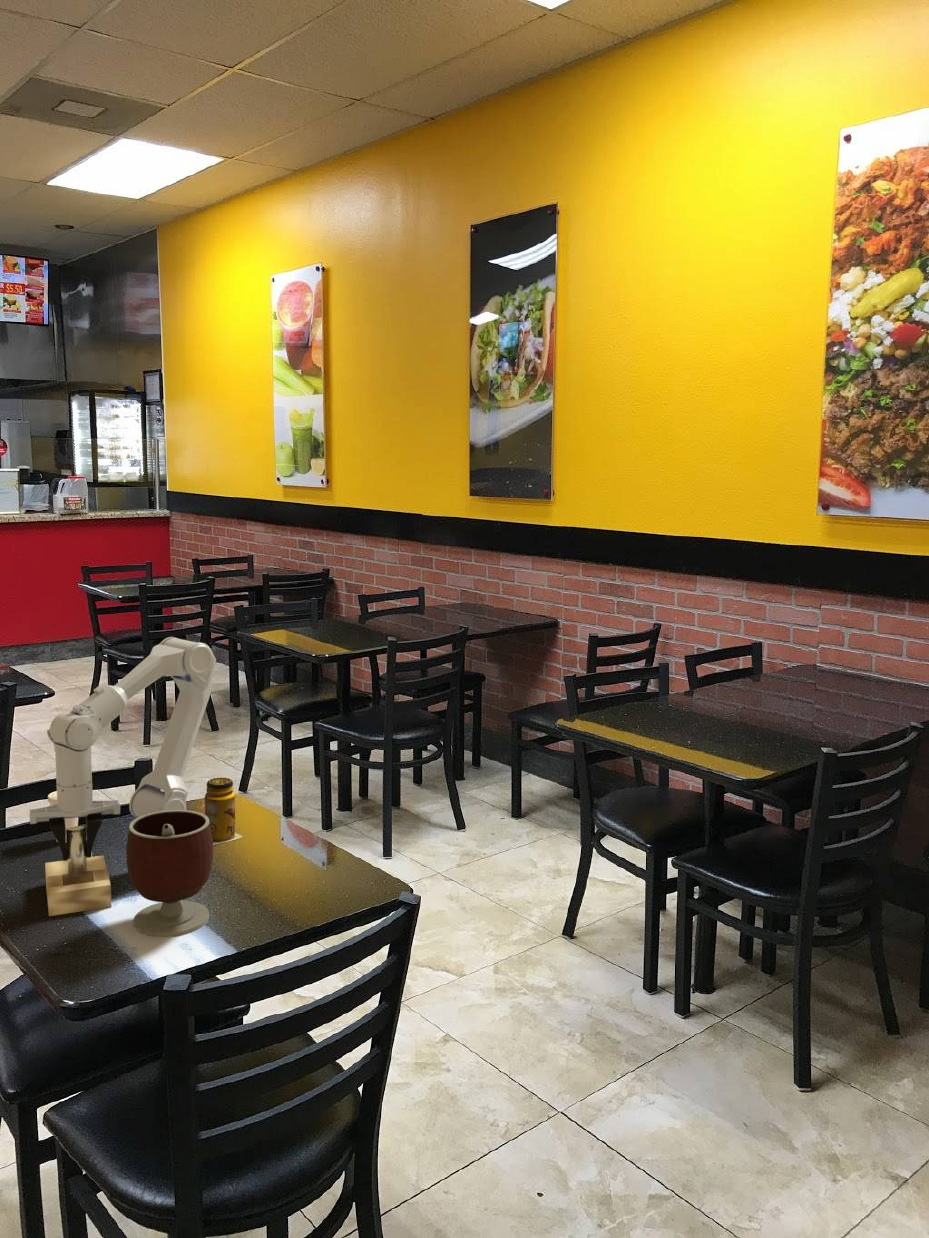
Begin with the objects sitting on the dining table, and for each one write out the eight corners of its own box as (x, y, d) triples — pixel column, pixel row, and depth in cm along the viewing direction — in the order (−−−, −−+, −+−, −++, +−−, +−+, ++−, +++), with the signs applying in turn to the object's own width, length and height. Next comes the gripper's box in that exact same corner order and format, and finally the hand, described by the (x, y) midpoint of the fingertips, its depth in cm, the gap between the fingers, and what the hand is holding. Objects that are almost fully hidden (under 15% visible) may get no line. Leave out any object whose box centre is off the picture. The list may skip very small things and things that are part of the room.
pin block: (104, 875, 186) (103, 855, 185) (111, 906, 173) (110, 884, 172) (46, 883, 181) (45, 862, 181) (48, 916, 169) (47, 893, 168)
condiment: (243, 837, 206) (243, 781, 204) (207, 847, 200) (206, 790, 198) (225, 827, 211) (224, 773, 209) (188, 837, 205) (187, 781, 204)
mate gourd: (132, 905, 174) (129, 794, 171) (214, 899, 177) (213, 790, 174) (123, 947, 159) (119, 827, 156) (213, 940, 162) (211, 822, 159)
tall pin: (90, 869, 176) (89, 826, 175) (82, 877, 173) (80, 833, 172) (72, 868, 176) (71, 825, 175) (64, 876, 173) (62, 832, 172)
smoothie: (60, 848, 198) (58, 780, 196) (43, 840, 202) (40, 773, 199) (89, 839, 203) (87, 773, 201) (72, 831, 207) (69, 766, 204)
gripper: (116, 771, 179) (118, 843, 181) (28, 779, 173) (31, 854, 175) (120, 782, 172) (122, 857, 174) (28, 792, 166) (32, 869, 168)
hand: (76, 857), depth 174 cm, fingers closed on tall pin, 3 cm apart
